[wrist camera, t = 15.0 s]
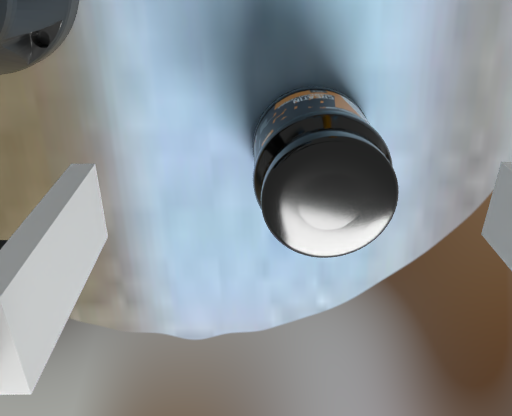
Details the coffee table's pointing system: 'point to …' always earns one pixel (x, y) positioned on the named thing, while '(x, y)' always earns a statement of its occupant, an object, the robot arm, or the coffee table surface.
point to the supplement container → (322, 173)
